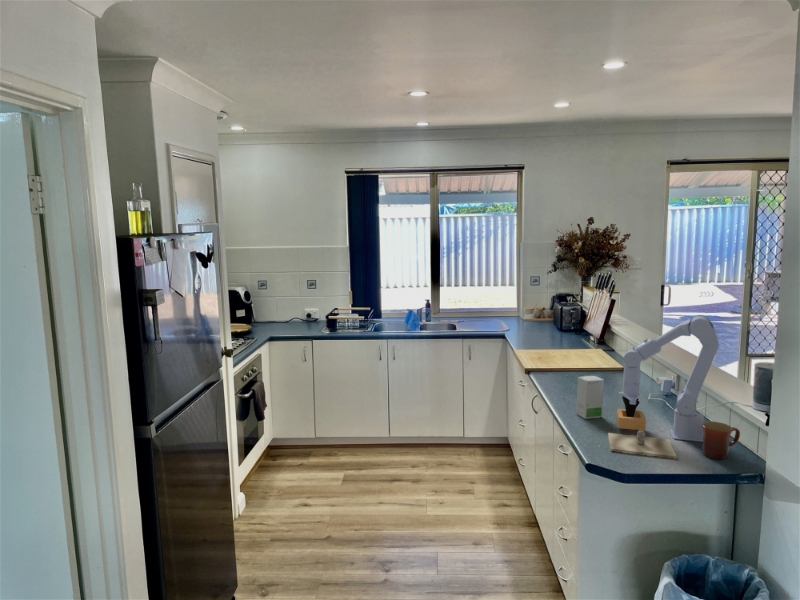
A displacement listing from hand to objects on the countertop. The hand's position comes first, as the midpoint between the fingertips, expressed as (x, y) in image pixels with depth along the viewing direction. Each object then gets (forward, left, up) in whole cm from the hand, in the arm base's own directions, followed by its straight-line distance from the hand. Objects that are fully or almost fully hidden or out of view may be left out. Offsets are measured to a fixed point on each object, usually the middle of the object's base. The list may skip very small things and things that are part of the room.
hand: (629, 416), depth 198 cm
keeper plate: (-2, +18, -4) cm, 18 cm away
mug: (-26, +18, -4) cm, 32 cm away
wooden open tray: (0, +4, -2) cm, 4 cm away
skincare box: (+14, -8, -4) cm, 17 cm away
